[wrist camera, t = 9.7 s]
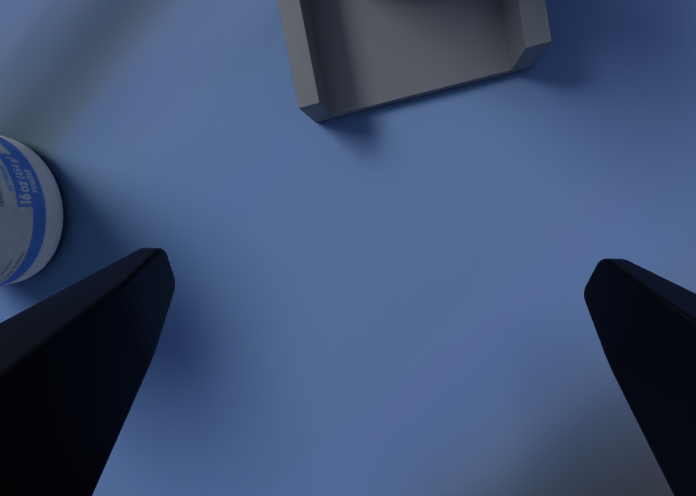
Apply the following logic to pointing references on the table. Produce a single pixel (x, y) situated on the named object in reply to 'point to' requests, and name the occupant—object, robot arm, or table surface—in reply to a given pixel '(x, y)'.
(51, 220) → the supplement tub
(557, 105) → the table surface
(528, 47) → the lane
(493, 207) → the table surface
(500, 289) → the table surface
